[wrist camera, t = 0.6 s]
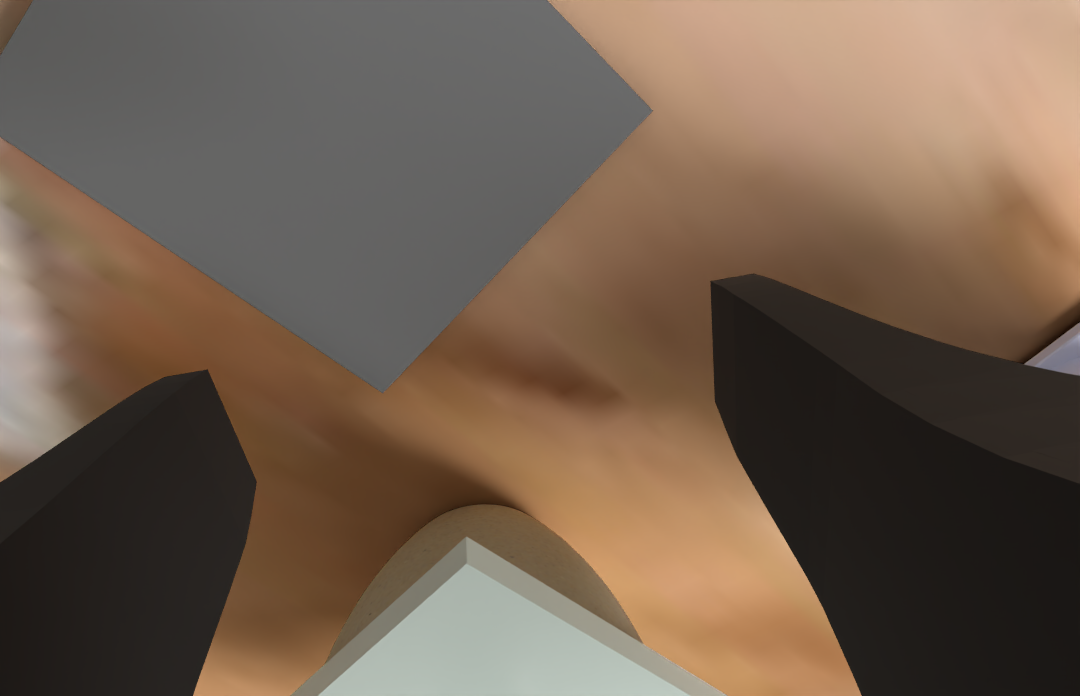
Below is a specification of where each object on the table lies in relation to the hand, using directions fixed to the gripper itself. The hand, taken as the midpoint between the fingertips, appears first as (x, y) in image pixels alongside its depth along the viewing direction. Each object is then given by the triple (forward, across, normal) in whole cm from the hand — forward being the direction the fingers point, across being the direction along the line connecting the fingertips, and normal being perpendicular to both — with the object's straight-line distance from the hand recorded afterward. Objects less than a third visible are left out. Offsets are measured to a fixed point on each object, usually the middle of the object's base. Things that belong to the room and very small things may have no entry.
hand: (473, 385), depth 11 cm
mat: (+10, +3, -2) cm, 11 cm away
